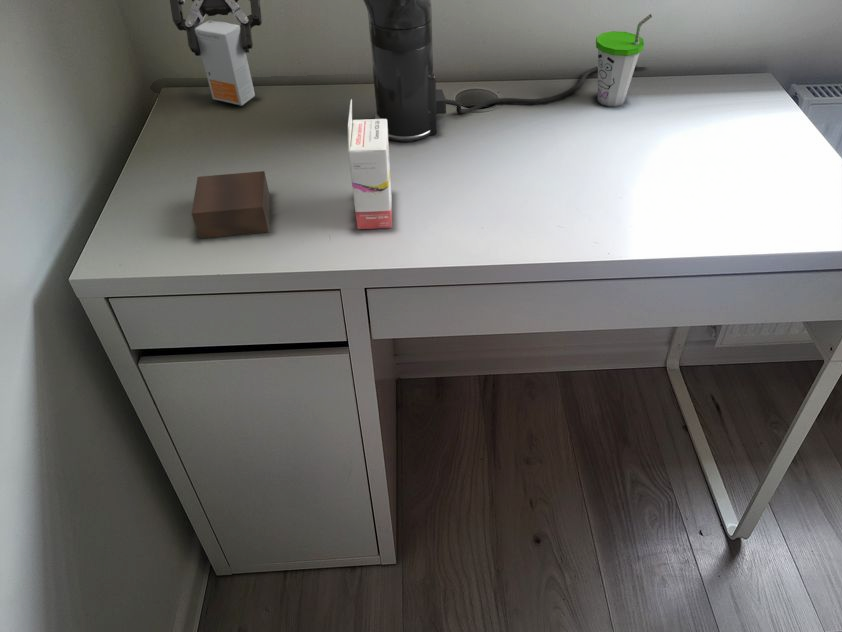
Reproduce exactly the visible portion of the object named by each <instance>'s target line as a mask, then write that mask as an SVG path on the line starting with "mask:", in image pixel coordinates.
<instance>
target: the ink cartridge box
mask: <svg viewBox="0 0 842 632" xmlns="http://www.w3.org/2000/svg"><path fill="white" fill-rule="evenodd" d="M389 145H390V144H389V139H388V125H387V119H375V118H372V119H371V118H369V119H368V118H367V119H353V99H352V98H351V99H350V100H349V110H348V118H347V156H348V162H349V172H350V178H351V186H352V187H351V188H352V194H353V195H352V196H353V205H354V211H355V219H356V220H355V221H356V229H357V230H367V229H368V230H369V229H372V230H373V229H392V227H393V224H392V219H393V218H392V216H393V215H392V211H393V210H392V204H393V203H392V198H393V197H392V195H393V194H392V186H391V185H392V184H391V168H390V167H391V166H390V164H391V163H390V148H389V147H390V146H389Z"/></svg>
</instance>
